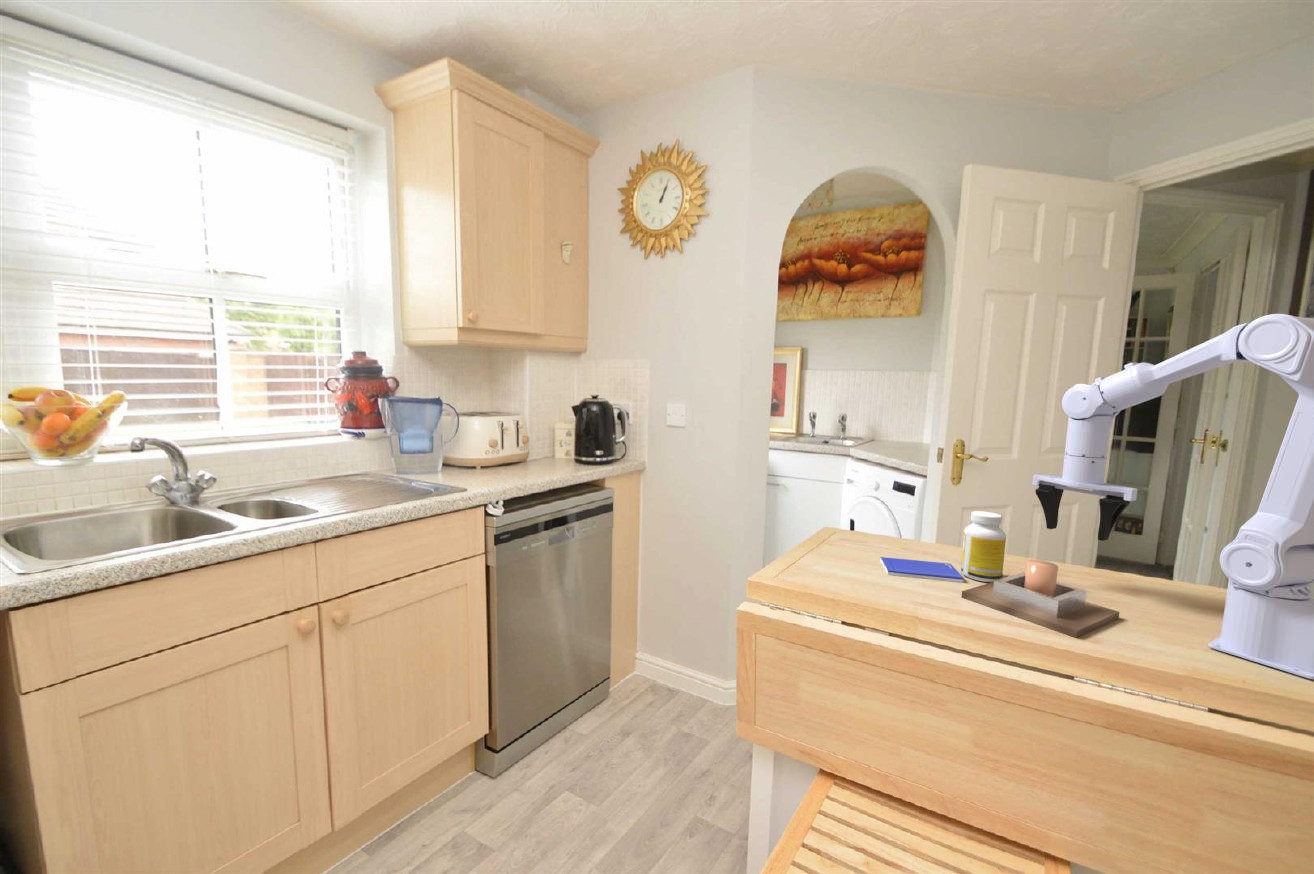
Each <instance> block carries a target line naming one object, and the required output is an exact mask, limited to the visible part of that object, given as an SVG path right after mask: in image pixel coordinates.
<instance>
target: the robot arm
mask: <svg viewBox="0 0 1314 874" xmlns="http://www.w3.org/2000/svg"><path fill="white" fill-rule="evenodd" d="M1232 363H1253V364H1254V365H1257V366H1259V367H1261V368H1263V369H1266V370H1268V371H1270V372H1272V373H1275V374H1277V375H1278V376H1279V377H1280V378H1281V379H1282V380H1284V382H1286V383H1287V384H1288V385H1289V386H1290V387H1291V388H1292V389H1293V390H1294V391H1295V392H1297V394H1298V397H1297V401H1296V404H1295V405H1294V408H1293V412H1292V414H1291V417H1290V420H1289V422H1288V425H1287V429H1286V431H1285V434H1284V437H1283V440H1282V443H1281V445H1280V448H1279V450H1278V453H1277V456H1276V459H1275V461H1274V464H1273V467H1272V470H1271V473H1270V476H1269V478H1268V480H1267V484H1266V486H1265V490H1264V492H1263V495H1262V498H1261V499H1260V500H1261V501H1260V503H1259V506H1258V508H1257V512H1256V513H1255V514H1254V515H1253V516H1251V518H1250V519H1248V520H1247V521H1246V522H1245V523H1244V524H1243V525H1241V527H1239V529H1238V533H1237V535H1236V537H1235V538H1234V539H1233V540H1232V541H1231V542H1229V543H1228V544H1227V545H1225V546H1224V547H1223V549H1222V551H1221V553H1220V555H1219V565H1220V567H1221V570H1222V572H1223V573H1224V575H1225V576H1226V577H1227V578H1228V583H1227V589H1226V596H1225V603H1224V610H1223V611H1224V612H1223V618H1222V624H1221V631H1220V635H1219V636H1217V637H1216V638H1214V639H1213V640H1212V641H1210V642H1208V645H1207V647H1208V648H1211V649H1213V650H1217V651H1220V652H1223V653H1227V654H1229V655H1233V656H1236V657H1239V658H1241V659H1245V660H1248V661H1251V662H1255V663H1258V664H1262V665H1265V666H1268V667H1271V668H1274V669H1277V670H1281V671H1283V672H1287V673H1290V674H1293V675H1297V676H1300V677H1303V678H1305V679H1309V680H1314V598H1312V597H1311V596H1312V592H1311V587H1310V585H1311V584H1313V583H1314V318H1309V317H1302V316H1295V315H1290V314H1286V313H1271V314H1266V315H1263V316H1260V317H1258V318H1255V319H1254V320H1252V321H1251V322H1245V323H1242V324H1238V325H1235V326H1234V327H1232V328H1230V329H1229V330H1226V332H1224V333H1222V334H1220V335H1217V336H1215V337H1213V338H1211V339H1209V340H1207V341H1205V342H1203V343H1200V344H1198V345H1196V346H1194V347H1191V348H1190V349H1187V350H1185V351H1183V352H1181V353H1179V354H1176V355H1174V356H1173V357H1171V358H1170V357H1169V358H1168V359H1166V360H1164V361H1161V362H1159V363H1157V364H1153V363H1150V362H1140V363H1139V362H1130V363H1127V364H1125V365H1124V366H1123V368H1124V369H1123V370H1121V371H1119V372H1116V373H1113V374H1111V375H1109V376H1105V377H1104V376H1100V377H1098V378H1095V379H1094V382H1093V383H1092V384H1091V385H1090V384H1088V383H1076V384H1074V385H1073V386H1072V387H1071V388H1068V389H1067V390H1066V392H1064V395H1063V397H1062V399H1061V407H1062V411H1063V412H1064V413H1065V415H1066V416H1068V419H1067V429H1066V439H1065V446H1064V447H1065V448H1064V456H1063V464H1062V465H1063V466H1062V475H1061V476H1057V475H1056V476H1055V475H1046V474H1041V473H1040V474H1039V473H1038V474H1032V484H1031V485H1032V486H1036V487H1038V488H1036V489H1035V494H1036V496H1037V498H1038V501H1039V503H1040V505H1041V507H1042V510H1043V514H1044V519H1045V525H1046V529H1048V530H1054V529H1057V526H1058V522H1059V521H1058V520H1059V509H1060V505H1061V501H1062V499H1063V497H1062V496H1063V495H1064V492H1065V491H1070V492H1077V493H1081V494H1088V495H1089V494H1090V495H1094V496H1100V497H1103V498H1100V499H1099V500H1098V502H1099V526H1098V531H1097V540H1098V541H1107V540H1109V538H1110V534H1111V532H1112V529H1113V528H1114V526H1115V523H1116V522H1117V520H1118V519H1119V517H1120V516H1121V514H1122V513H1123V512H1124V510H1126V508H1127V507H1129V505H1130V503H1131V502H1135V501H1137V496H1138V488H1134V487H1128V486H1123V485H1117V484H1113V483H1107V482H1105V477H1106V476H1105V475H1106V467H1107V459H1108V450H1109V441H1110V440H1109V439H1110V433H1111V427H1113V422H1114V419H1115V418H1116V416H1117V415H1119V413H1120V412H1121V411H1122V410H1126V409H1128V408H1130V407H1133V406H1136V405H1139V404H1142V403H1144V402H1147V401H1151V400H1153V399H1156V398H1159V397H1160V396H1163V395H1164V394H1165V392H1166V390H1167V389H1168V386H1169V384H1172V383H1175V382H1179V381H1181V380H1185V379H1187V378H1190V377H1194V376H1197V375H1200V374H1203V373H1205V372H1209V371H1211V370H1214V369H1218V368H1221V367H1223V366H1227V365H1230V364H1232Z"/></svg>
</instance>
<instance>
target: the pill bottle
mask: <svg viewBox="0 0 1314 874" xmlns="http://www.w3.org/2000/svg"><path fill="white" fill-rule="evenodd" d="M1002 518H1003V517H1002V515H1001V514H999V513H995V512H989V511H982V510H975V511H971V515H970V520H971V521H972V523H971V524H969V525H967V526H965V528H964V531H963V540H962V541H963V543H962V550H961V552H962V553H961V554H962V555H961V565H960V572H961V575H962V576H965V577H966V578H969V579H971V580H975V581H979V582H984V583H985V582H986V583H992V582H994V581H995V580H999V579H1002V578H1003V571H1004V562H1005V551H1006V550H1005V549H1006V541H1007V535H1006V532H1005V531H1004V530H1003V529H1002V528H1000V525H1001V524H1002Z"/></svg>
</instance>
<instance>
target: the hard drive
mask: <svg viewBox="0 0 1314 874" xmlns="http://www.w3.org/2000/svg"><path fill="white" fill-rule="evenodd" d="M879 561H880V563H881V565H882V567H883V569H884V571H885V572H886V575H887V576H897V577H904V578H905V577H906V578H912V579H913V578H915V579H926V580H933V581H941V582H942V581H944V582H952V583H962V584H963V583H964V577H963V576H964V575H963V574H962V573H960V571H958V570H957V569H956V567H955V566H953V564H952V563H949V562H948V563H947V562H938V561H928V560H927V561H926V560H917V559H906V558H905V559H904V558H895V557H884V556H881V557H880V560H879Z"/></svg>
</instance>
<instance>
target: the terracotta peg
mask: <svg viewBox="0 0 1314 874" xmlns="http://www.w3.org/2000/svg"><path fill="white" fill-rule="evenodd" d="M1058 572H1059V566H1058V565H1057V564H1055V563H1052V562H1049V561H1045V560H1042V559H1041V560H1039V559H1027V560H1026V566H1025V573H1026V574H1025V584H1024V588H1025V589H1029V590H1032V591H1035V592H1038V593H1041V594H1045V595H1048V596H1051V597H1055V590H1056V582H1057V581H1058Z"/></svg>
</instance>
